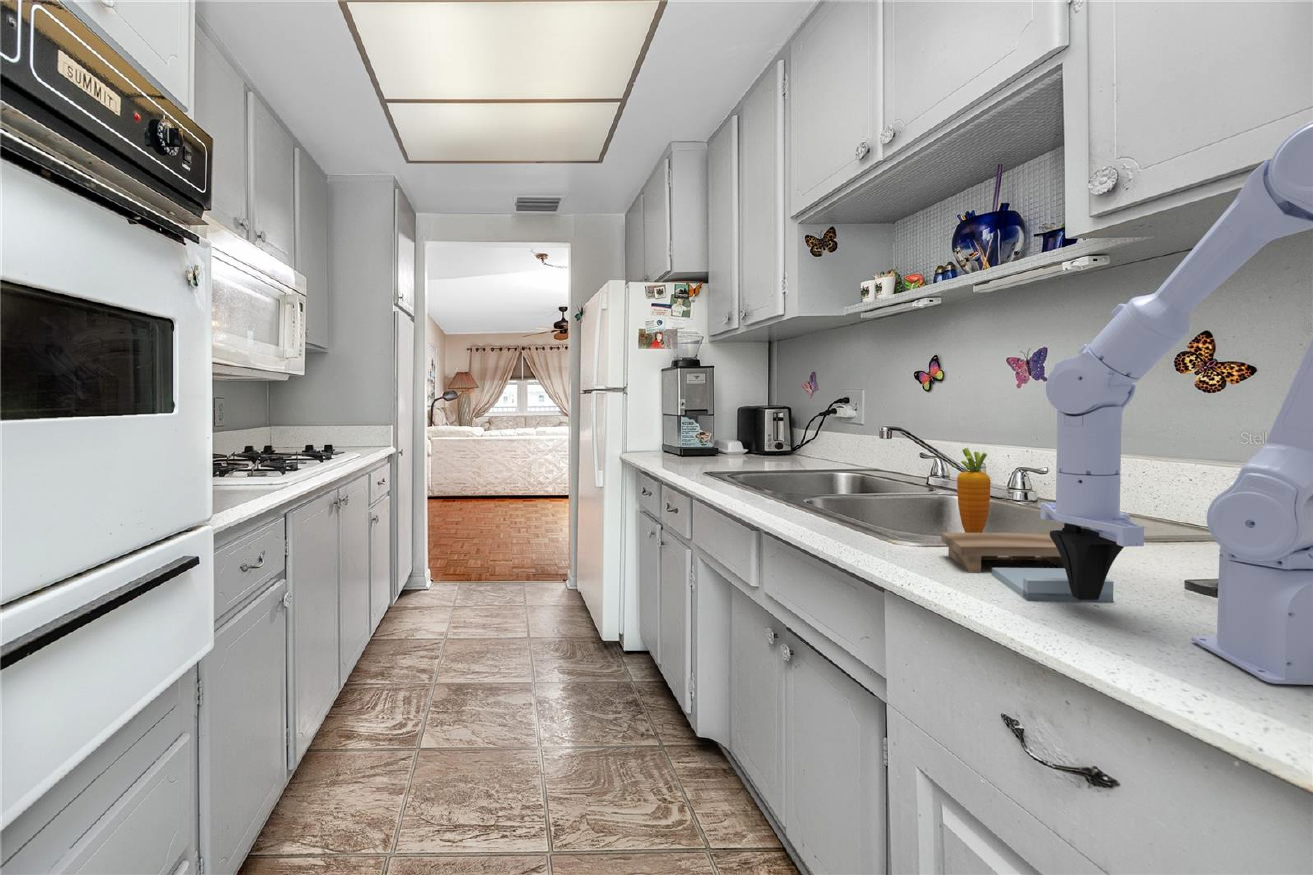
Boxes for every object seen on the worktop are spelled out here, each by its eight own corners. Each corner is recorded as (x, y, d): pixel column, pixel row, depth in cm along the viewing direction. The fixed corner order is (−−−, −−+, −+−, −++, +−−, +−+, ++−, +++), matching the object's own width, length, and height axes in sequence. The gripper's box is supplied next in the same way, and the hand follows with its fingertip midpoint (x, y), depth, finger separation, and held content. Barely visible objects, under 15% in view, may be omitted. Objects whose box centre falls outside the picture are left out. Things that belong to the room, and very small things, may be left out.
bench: (1091, 573, 85) (1091, 547, 85) (961, 571, 87) (961, 546, 87) (1058, 556, 94) (1059, 533, 94) (941, 555, 96) (941, 532, 96)
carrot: (997, 546, 100) (998, 449, 100) (964, 547, 100) (965, 450, 100) (981, 539, 105) (981, 446, 105) (950, 540, 105) (950, 447, 105)
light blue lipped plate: (1113, 604, 74) (1113, 581, 73) (1027, 603, 75) (1027, 580, 75) (1066, 577, 84) (1066, 557, 84) (991, 576, 86) (991, 557, 86)
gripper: (1178, 480, 62) (1174, 620, 63) (1084, 464, 77) (1082, 578, 78) (1102, 481, 63) (1099, 621, 64) (1022, 465, 77) (1021, 579, 78)
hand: (1085, 598), depth 71 cm, fingers closed
